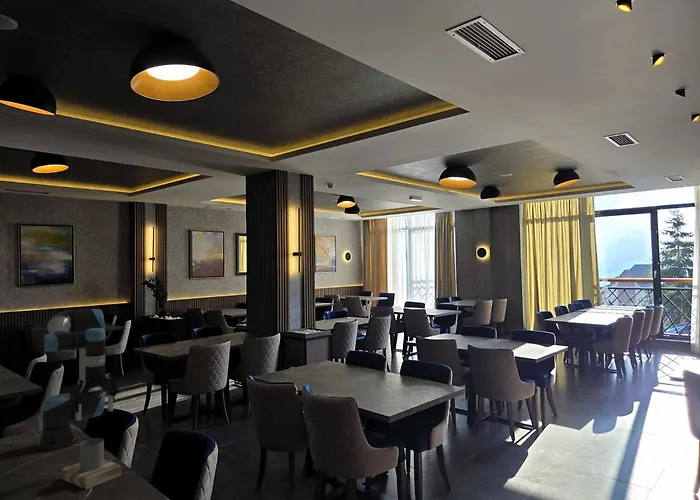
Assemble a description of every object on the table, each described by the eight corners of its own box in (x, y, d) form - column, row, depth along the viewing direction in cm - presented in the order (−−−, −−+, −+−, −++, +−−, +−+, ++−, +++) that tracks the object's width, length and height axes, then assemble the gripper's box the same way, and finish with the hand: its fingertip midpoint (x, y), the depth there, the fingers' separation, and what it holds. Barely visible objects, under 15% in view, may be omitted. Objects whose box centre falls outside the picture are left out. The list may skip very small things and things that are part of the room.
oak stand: (61, 479, 185) (61, 469, 185) (96, 466, 197) (96, 456, 197) (86, 489, 176) (86, 478, 176) (121, 475, 187) (121, 465, 188)
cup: (92, 472, 181) (92, 446, 182) (74, 470, 183) (75, 445, 184) (108, 463, 190) (108, 438, 190) (90, 462, 191) (91, 437, 192)
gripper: (69, 372, 183) (68, 425, 183) (127, 360, 204) (127, 408, 204) (59, 370, 187) (59, 422, 187) (118, 358, 208) (117, 405, 208)
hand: (94, 415), depth 195 cm, fingers open, 13 cm apart
